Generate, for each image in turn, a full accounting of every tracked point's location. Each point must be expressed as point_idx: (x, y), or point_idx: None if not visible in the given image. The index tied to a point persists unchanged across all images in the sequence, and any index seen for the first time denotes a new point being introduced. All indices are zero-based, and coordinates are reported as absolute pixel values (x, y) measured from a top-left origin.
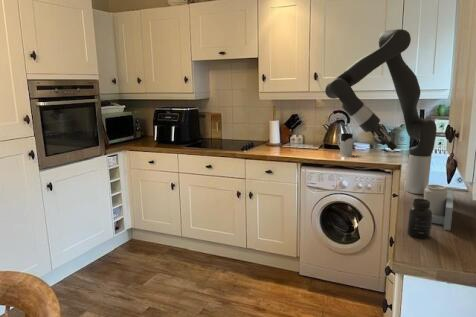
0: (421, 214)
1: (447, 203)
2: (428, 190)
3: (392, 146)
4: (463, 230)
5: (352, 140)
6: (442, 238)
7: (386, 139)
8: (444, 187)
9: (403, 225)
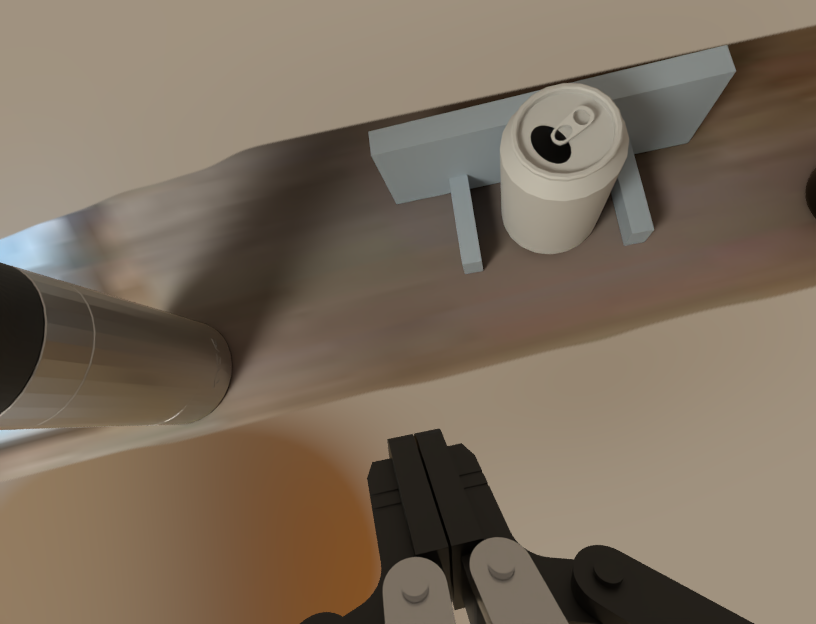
0: None
1: (656, 84)
2: (615, 166)
3: (482, 478)
4: None
5: None
6: (808, 118)
7: (641, 619)
8: (546, 93)
9: (772, 284)
